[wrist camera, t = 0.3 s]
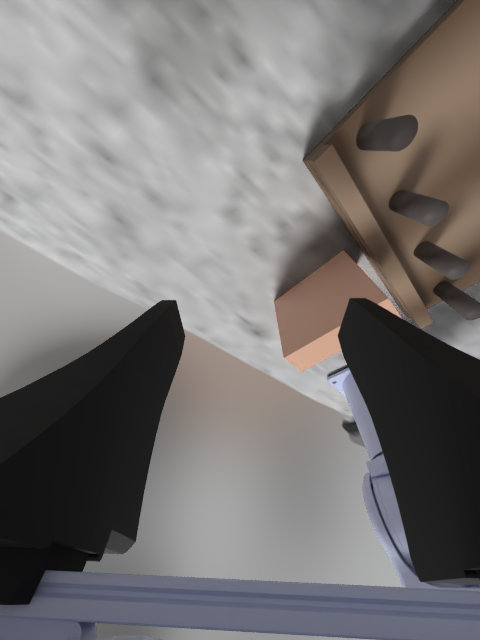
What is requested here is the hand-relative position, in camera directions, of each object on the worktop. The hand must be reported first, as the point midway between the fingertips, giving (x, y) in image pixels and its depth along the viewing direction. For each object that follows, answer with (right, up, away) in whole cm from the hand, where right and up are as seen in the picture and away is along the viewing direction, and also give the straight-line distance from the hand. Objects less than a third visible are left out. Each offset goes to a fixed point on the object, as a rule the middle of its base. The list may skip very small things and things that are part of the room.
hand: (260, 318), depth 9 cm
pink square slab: (+5, +3, +10) cm, 12 cm away
